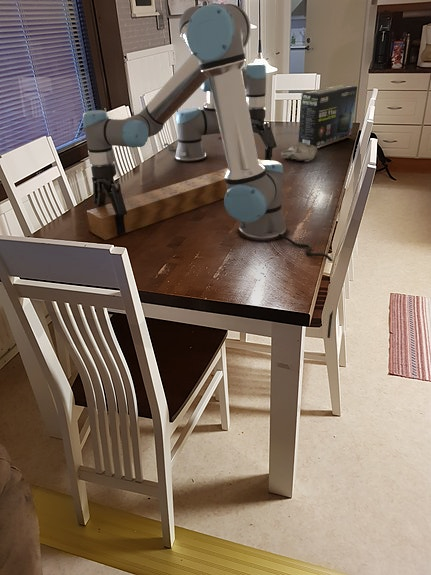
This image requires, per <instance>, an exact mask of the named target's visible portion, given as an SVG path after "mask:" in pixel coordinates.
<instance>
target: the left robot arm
mask: <svg viewBox="0 0 431 575" xmlns="http://www.w3.org/2000/svg"><path fill="white" fill-rule="evenodd" d="M203 6H204V5H199V6H198V5H194V6H190V7H189V8H187V9H186V10H185V11H184V12H183V13H182V14H181V16H180V18H179V21H178V27H177V28H178V34H179V37H180V39H181V40H182V42H183V43H184V44H186V45H187V46H188V44H187V39H186V31H187V25H188V22H189V20H190V18H191V16H192V15H193V14H194V12H195V11H196V10H198V9H199V8H201V7H203ZM188 50H189V52H190V53H191V55H192V52H191V51H190V49H189V48H188ZM241 70H242V76H243V81H244V86H245V92H246V97H247V103H248V108H249V113H250V119H251V124H252V129H253V133H254V134H258V135H259V137H260V138H261V140H262V142H263V144H264V146H265V149H264V160H270V161H272V157H273V149H275V148H277V146H278V145H277V143H276V139H275V136H274V133H273V129H272V123H271V121H268V122H265V119H266V112H267V110H266V105H267V104H266V102H267V100H266V99H267V96H266V95H267V94H266V93H267V65H266V64H265V63H262V62H261V63H259V62H257V63H256V62H255V63H248V64H246V66H242V69H241ZM199 88H200V89H201V92H204V93H205V94H206V95H205V96H206V97H205V98H206V101H205V102H204V103H203V106H202V108H203V109H201V108H200V107H199V106H190V107H189V106H188V107H185V108H182V109H179V110H177V111H176V114H175V124H176V133H177V136H176V137H177V145H176V149H175V148H173V146H172V145H171V144H169V143H167V142H165V143H164V144H163V147H166V146H168V147H169V150H170V151H172V152H175V157H174V158H175V160H176V161H178V162H181V163H195V162H196V163H197V162H200V161H203V160H206V158H207V152H206V150H205V147H204V145H203V144H204V143H203V140H202V137H203V136H208V135H218V134H221V133H220V129H219V124H218V119H217V115H216V110H215V106H214V101H213V96H212V92H211V87H210V82H209V78H208V79H207V80H206V81H205V82H204V83H203V84H202V85H201V86H200V87H199Z"/></svg>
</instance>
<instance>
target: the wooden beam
mask: <svg viewBox="0 0 431 575" xmlns="http://www.w3.org/2000/svg"><path fill="white" fill-rule="evenodd" d="M227 171H228V167H226V168H223V169H220V170H216V171H213V172H210V173H206V174H203V175H200V176H196V177H193V178H190V179H187V180H184V181H180V182H177V183H173V184H171V185H170V184H169V185H167V186H164V187H160V188H157V189H154V190H151V191H147V192H144V193H140V194H138V195H134V196H131V197H128V198H123V200H124V204H125V207H126V211H127V214H126V215H123V217H124V224H125V231H126V233H123V234H122V235H124V234H128V233H129V232H132V231H136V230H138V229H141V228H144V227H147V226H149V225H153V224H155V223H159V222H161V221H164V220H166V219H170V218H172V217H175V216H179V215H181V214H183V213H186V212H189V211H192V210H195V209H198V208H200V207H203V206H206V205H209V204H212V203H215V202H218V201H221V200H224V197H225V194H226V192H227V187H226V182H225V177H224V176H225V174H226V173H227ZM115 215H116V214H115V211H114V209H113V206H112V204H111V203H108V204H107V203H106V205H104V206H101V207H94V208H92V209H89V210H86V216H87V220H88V225H89V230H90V232H91V233H92V234H94V235H95V236H97V237H98V238H100V239H102V240H104V241H107V240H110V239H113V238H115V237H119V236H120V235H118V234H117V228H116V221H115V217H114V216H115Z"/></svg>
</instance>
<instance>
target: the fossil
mask: <svg viewBox="0 0 431 575" xmlns="http://www.w3.org/2000/svg"><path fill="white" fill-rule="evenodd" d="M316 152H317V153H318V149H317V147H315V146H314V145H308V144H307V143H303V142H298V141H297V143H296V145H291V146H289V148H288V149H284V150H282V151H281V152H280V156H281V158H282V159H284V160H289V159H291V158H292V159H291V160H293V159H297V160H296V161H303V160H309V161H303V162H304V163H309V162H310V161H312V160H314V158H315V156H316V155H317V153H316ZM282 156H288V157H290V158H283V157H282Z"/></svg>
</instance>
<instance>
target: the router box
mask: <svg viewBox="0 0 431 575" xmlns="http://www.w3.org/2000/svg"><path fill="white" fill-rule="evenodd" d="M357 93H358V86H356V85H350V84H339V85H338V84H337V85H334V86H328V87H324V88H318V89H314V90H309V91H304V92H301V93H300V109H299V110H300V111H299V124H298V137H297V143H298V142H303V143H307V144H308V145H314V146H315V147H317V146H320V145H323V144H325V143H328V142H331V141H333V140H336V139H338V138H341V137H344V136H347V135H351V136H352V133H353V132H352V131H353V125H354V115H355V109H356V99H357Z"/></svg>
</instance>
